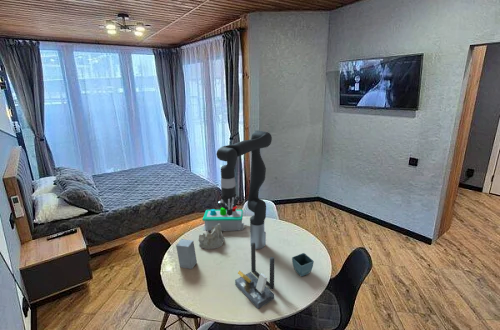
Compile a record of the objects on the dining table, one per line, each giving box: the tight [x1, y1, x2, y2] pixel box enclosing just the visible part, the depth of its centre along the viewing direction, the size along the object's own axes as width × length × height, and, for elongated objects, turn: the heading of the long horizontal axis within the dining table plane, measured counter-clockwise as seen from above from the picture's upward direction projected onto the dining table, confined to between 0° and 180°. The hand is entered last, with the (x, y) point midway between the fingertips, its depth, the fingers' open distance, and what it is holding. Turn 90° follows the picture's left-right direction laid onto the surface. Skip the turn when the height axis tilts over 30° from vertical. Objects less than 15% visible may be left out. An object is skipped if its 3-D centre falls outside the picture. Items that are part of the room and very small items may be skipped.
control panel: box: [202, 205, 245, 232], centre depth 196 cm, size 15×16×30 cm
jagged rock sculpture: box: [198, 224, 225, 250], centre depth 178 cm, size 16×16×15 cm
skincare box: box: [175, 238, 198, 270], centre depth 155 cm, size 8×7×16 cm
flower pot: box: [291, 252, 315, 277], centre depth 148 cm, size 9×9×9 cm
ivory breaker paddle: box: [256, 272, 268, 293], centre depth 132 cm, size 2×4×8 cm, turn 37°
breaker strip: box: [234, 271, 275, 310], centre depth 136 cm, size 10×20×5 cm, turn 36°
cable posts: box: [250, 243, 276, 290], centre depth 143 cm, size 2×18×18 cm, turn 36°
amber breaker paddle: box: [237, 270, 252, 283], centre depth 137 cm, size 2×4×8 cm
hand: (229, 214), depth 144 cm, fingers closed
